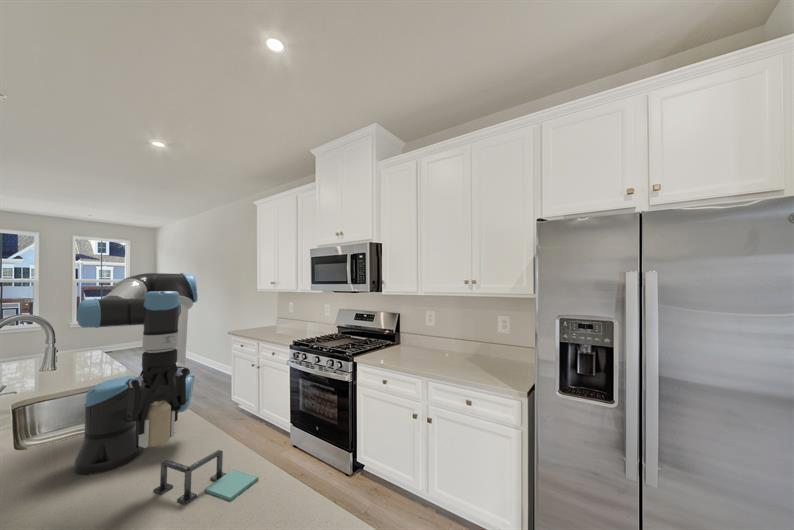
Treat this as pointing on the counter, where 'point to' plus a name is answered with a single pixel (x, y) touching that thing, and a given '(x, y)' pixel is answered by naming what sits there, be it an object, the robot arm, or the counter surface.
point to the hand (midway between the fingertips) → (156, 440)
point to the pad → (231, 484)
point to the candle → (159, 423)
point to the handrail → (188, 475)
